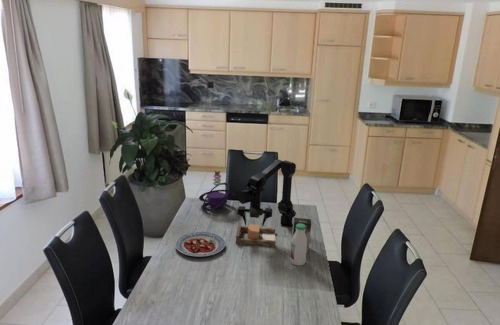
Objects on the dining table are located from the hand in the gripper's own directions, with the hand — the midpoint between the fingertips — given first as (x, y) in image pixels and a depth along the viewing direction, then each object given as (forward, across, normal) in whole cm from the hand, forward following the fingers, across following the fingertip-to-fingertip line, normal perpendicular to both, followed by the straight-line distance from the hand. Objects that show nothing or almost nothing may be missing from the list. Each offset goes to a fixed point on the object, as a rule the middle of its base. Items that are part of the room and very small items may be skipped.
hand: (254, 225), depth 209 cm
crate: (+7, 0, 0) cm, 7 cm away
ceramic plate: (+8, -27, -14) cm, 31 cm away
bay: (+7, +2, 0) cm, 7 cm away
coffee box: (+7, +25, -8) cm, 27 cm away
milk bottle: (+7, +23, -22) cm, 33 cm away
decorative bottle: (+7, -26, +38) cm, 47 cm away
